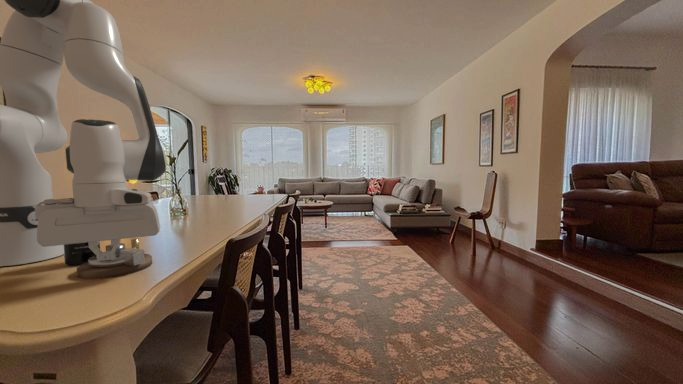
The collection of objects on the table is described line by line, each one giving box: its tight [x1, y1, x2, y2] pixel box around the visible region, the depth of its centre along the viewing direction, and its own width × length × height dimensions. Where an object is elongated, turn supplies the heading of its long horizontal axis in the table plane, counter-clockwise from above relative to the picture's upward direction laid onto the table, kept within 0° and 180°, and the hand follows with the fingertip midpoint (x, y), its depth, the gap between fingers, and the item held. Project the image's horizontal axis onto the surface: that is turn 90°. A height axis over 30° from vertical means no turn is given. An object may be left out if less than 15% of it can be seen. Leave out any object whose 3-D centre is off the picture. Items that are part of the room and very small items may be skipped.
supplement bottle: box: [63, 241, 101, 267], centre depth 73 cm, size 7×7×12 cm
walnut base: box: [76, 237, 153, 280], centre depth 69 cm, size 14×14×6 cm
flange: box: [88, 243, 145, 267], centre depth 68 cm, size 13×10×4 cm
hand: (106, 260), depth 63 cm, fingers closed
